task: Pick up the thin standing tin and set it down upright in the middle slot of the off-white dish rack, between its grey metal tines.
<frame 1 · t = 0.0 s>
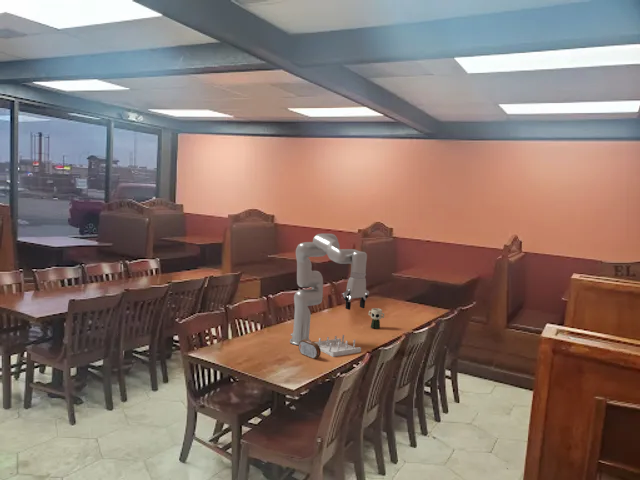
hand: (355, 308, 266), 31 cm above the table, tool pointing down, fingers open, 9 cm apart
dish rack: (336, 349, 296), on the table
tin: (308, 356, 281), on the table
character mug: (375, 328, 350), on the table
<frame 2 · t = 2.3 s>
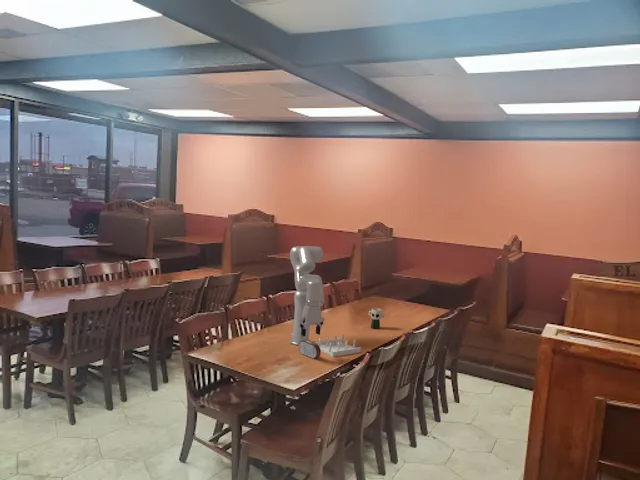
hand: (310, 334, 279), 12 cm above the table, tool pointing down, fingers open, 9 cm apart
nothing on the table moved.
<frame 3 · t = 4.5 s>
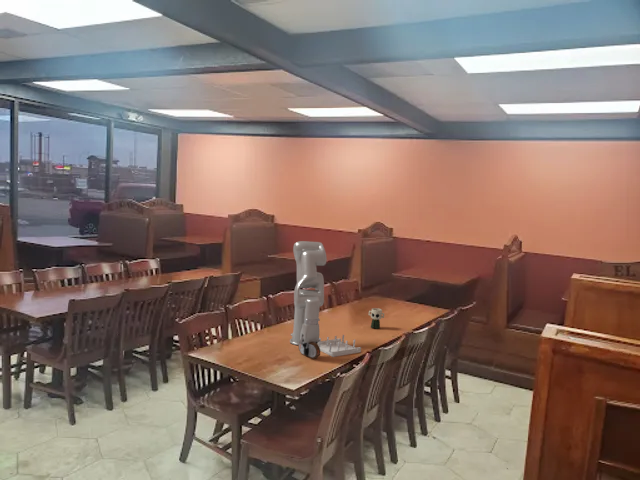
hand: (308, 354, 281), 1 cm above the table, tool pointing down, fingers closed on tin, 3 cm apart
tin: (308, 356, 281), on the table, touching gripper
everything else where it was.
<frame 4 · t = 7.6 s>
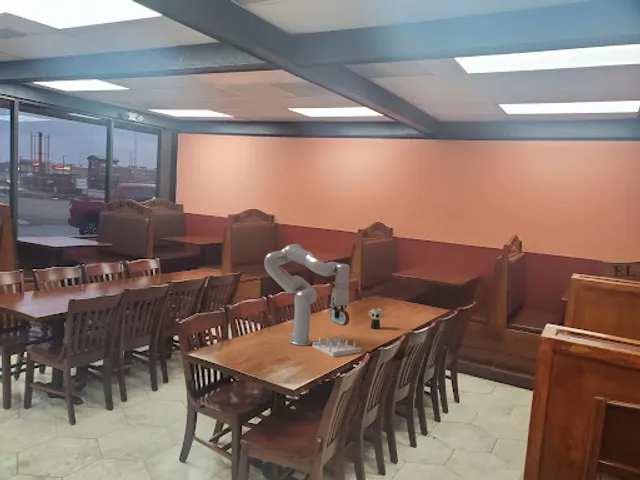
hand: (338, 317, 294), 19 cm above the table, tool pointing down, fingers closed on tin, 2 cm apart
tin: (338, 324, 294), point 15 cm above the table, touching gripper
everything else where it was.
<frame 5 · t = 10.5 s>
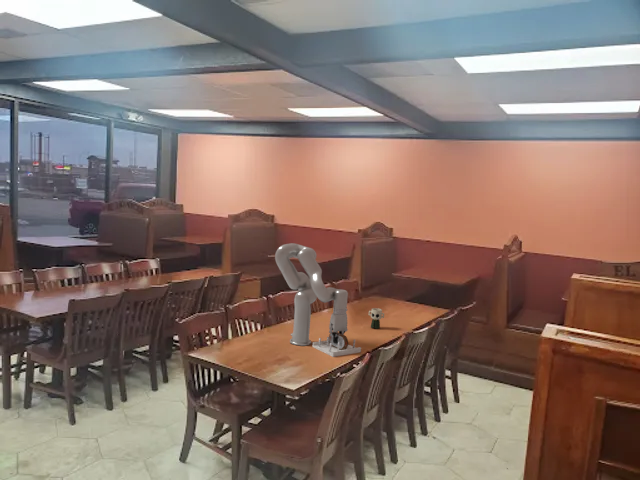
hand: (337, 342, 296), 4 cm above the table, tool pointing down
tin: (336, 348, 296), point 1 cm above the table, touching dish rack, gripper
everything else where it was.
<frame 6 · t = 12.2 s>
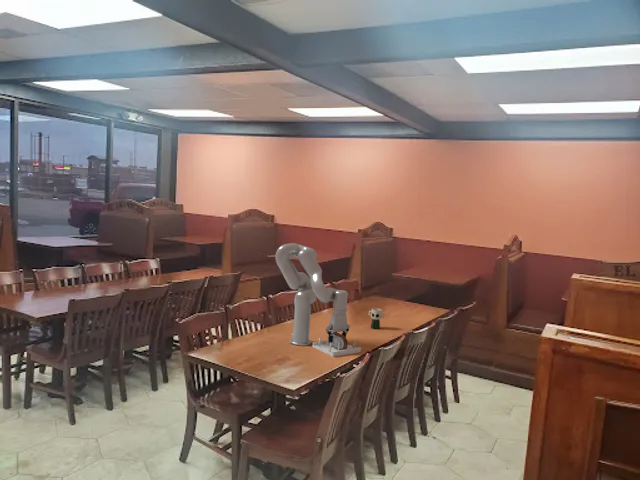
hand: (337, 340, 296), 5 cm above the table, tool pointing down, fingers open, 9 cm apart
tin: (336, 348, 296), point 1 cm above the table, touching dish rack
everything else where it was.
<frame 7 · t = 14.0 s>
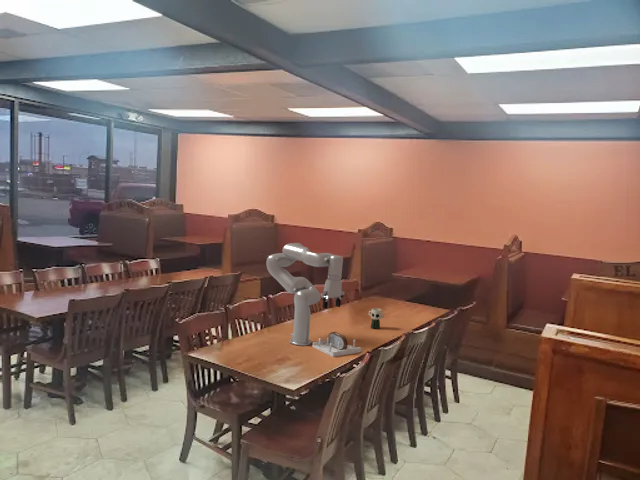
hand: (331, 307, 290), 25 cm above the table, tool pointing down, fingers open, 9 cm apart
nothing on the table moved.
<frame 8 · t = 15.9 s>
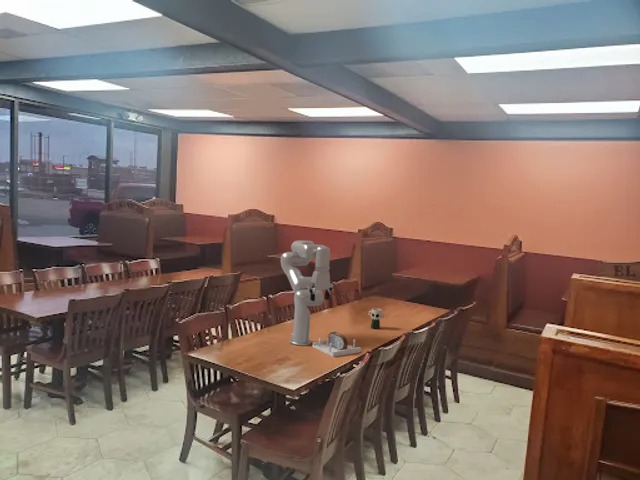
hand: (319, 300, 283), 30 cm above the table, tool pointing down, fingers open, 9 cm apart
nothing on the table moved.
at the end: tin 0.8 cm off-centre on the dish rack, point 1.0 cm above the dish rack's base; tin tilted 0°; the gripper is holding nothing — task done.
